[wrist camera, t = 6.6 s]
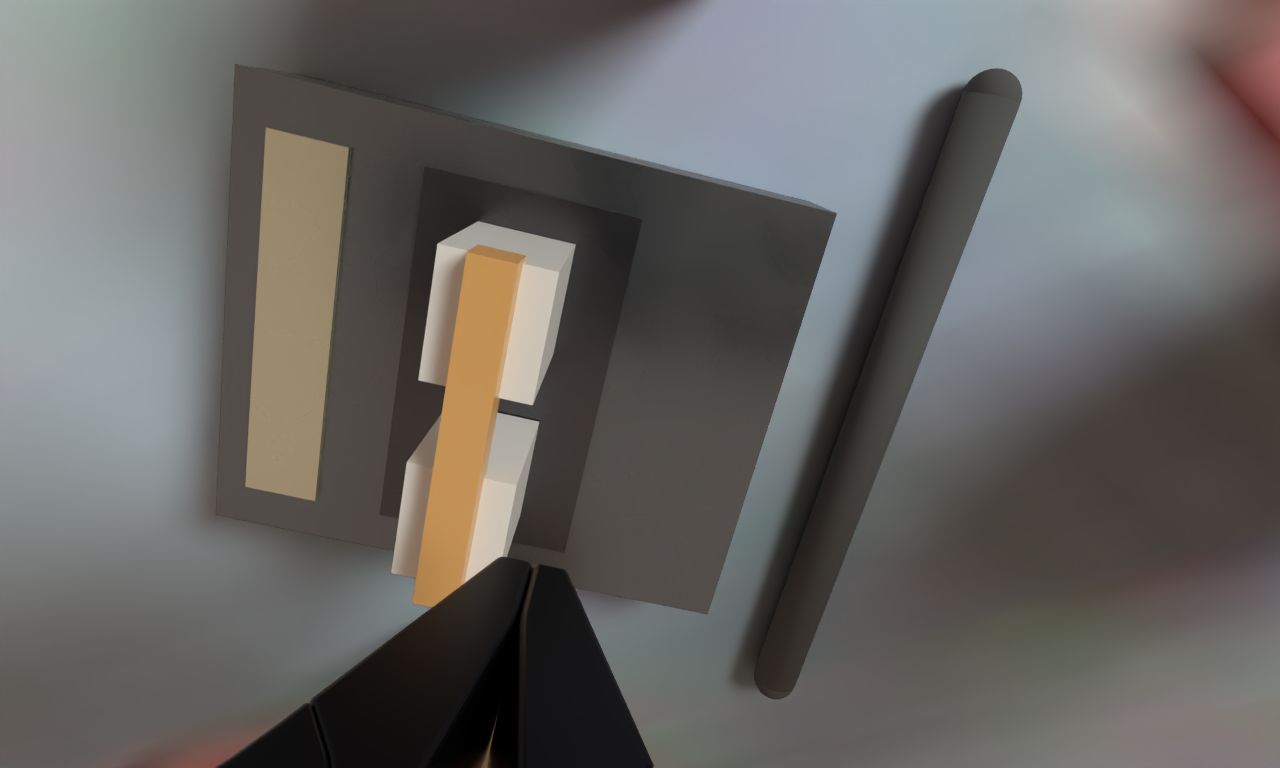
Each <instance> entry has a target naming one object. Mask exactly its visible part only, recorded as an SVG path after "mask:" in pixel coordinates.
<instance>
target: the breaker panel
mask: <svg viewBox="0 0 1280 768" xmlns="http://www.w3.org/2000/svg"><path fill="white" fill-rule="evenodd" d="M836 214H837V213H835V212H832V211H830V210H828V209H825V208H823V207H821V206H818V205H816V204H814V203H811V202H809V201H805V200H801V199H797V198H793V197H789V196H784V195H780V194H776V193H772V192H768V191H764V190H760V189H756V188H752V187H748V186H744V185H740V184H736V183H732V182H728V181H724V180H720V179H716V178H712V177H708V176H704V175H700V174H696V173H692V172H688V171H684V170H680V169H676V168H672V167H668V166H664V165H660V164H656V163H652V162H648V161H644V160H640V159H636V158H632V157H628V156H624V155H619V154H615V153H611V152H607V151H603V150H599V149H595V148H591V147H587V146H583V145H579V144H575V143H571V142H567V141H563V140H559V139H555V138H551V137H547V136H543V135H539V134H535V133H531V132H527V131H523V130H519V129H515V128H511V127H507V126H503V125H499V124H495V123H491V122H487V121H483V120H479V119H475V118H471V117H467V116H463V115H459V114H454V113H450V112H446V111H442V110H438V109H434V108H430V107H426V106H422V105H418V104H414V103H410V102H406V101H402V100H398V99H394V98H390V97H386V96H382V95H378V94H374V93H370V92H366V91H362V90H358V89H354V88H350V87H346V86H342V85H338V84H334V83H330V82H326V81H322V80H318V79H314V78H310V77H306V76H302V75H298V74H292V73H286V72H280V71H274V70H268V69H262V68H256V67H249V66H243V65H237V64H235V78H234V101H233V125H232V148H231V172H230V195H229V219H228V243H227V266H226V290H225V313H224V337H223V361H222V384H221V408H220V431H219V455H218V478H217V502H216V515H219V516H224V517H229V518H234V519H239V520H244V521H249V522H254V523H259V524H264V525H269V526H274V527H278V528H283V529H288V530H293V531H298V532H303V533H308V534H313V535H318V536H323V537H328V538H333V539H338V540H343V541H348V542H353V543H358V544H362V545H367V546H372V547H377V548H382V549H387V550H392V551H394V550H395V543H396V535H397V528H398V521H399V514H400V507H401V500H402V493H403V486H404V479H405V471H406V464H407V461H408V460H409V458H410V457H411V456H412V454H413V453H414V451H415V450H416V449H417V447H418V446H419V444H420V443H421V442H422V440H423V439H424V437H425V436H426V435H427V433H428V432H429V430H430V429H431V428H432V426H433V425H434V423H435V422H436V421H437V419H438V418H439V416H440V415H441V414H442V408H443V402H444V395H445V389H446V386H442V385H437V384H433V383H428V382H424V381H419V380H418V379H419V372H420V365H421V358H422V350H423V343H424V336H425V329H426V322H427V315H428V308H429V301H430V294H431V286H432V279H433V272H434V265H435V258H436V251H437V244H438V243H439V242H441V241H443V240H445V239H447V238H449V237H450V236H452V235H454V234H456V233H458V232H459V231H461V230H463V229H465V228H467V227H469V226H470V225H472V224H474V223H476V222H478V221H479V222H484V223H488V224H492V225H496V226H500V227H505V228H509V229H513V230H517V231H521V232H526V233H530V234H534V235H538V236H542V237H547V238H551V239H555V240H559V241H563V242H568V243H572V244H576V246H575V251H574V256H573V261H572V266H571V270H570V275H569V280H568V285H567V290H566V295H565V300H564V305H563V309H562V314H561V319H560V324H559V329H558V334H557V339H556V344H555V348H554V353H553V356H552V359H551V361H550V364H549V366H548V369H547V371H546V374H545V376H544V379H543V381H542V384H541V386H540V389H539V391H538V393H537V396H536V398H535V401H534V403H533V405H528V404H524V403H519V402H515V401H510V400H505V399H501V398H500V401H499V407H498V412H497V413H501V414H506V415H510V416H515V417H520V418H524V419H529V420H533V421H538V422H539V426H538V431H537V436H536V441H535V446H534V451H533V456H532V461H531V465H530V470H529V475H528V480H527V485H526V490H525V495H524V500H523V504H522V509H521V514H520V517H519V521H518V524H517V527H516V530H515V533H514V536H513V539H512V542H511V545H510V549H509V552H508V555H507V557H509V558H513V559H518V560H523V561H527V562H529V563H530V564H531V565H532V568H533V567H534V566H535V565H537V564H542V565H547V566H552V567H557V568H561V569H564V570H566V571H567V573H568V575H569V577H570V579H571V582H572V584H573V586H574V587H575V588H580V589H585V590H590V591H595V592H600V593H605V594H610V595H615V596H619V597H624V598H629V599H634V600H639V601H644V602H649V603H654V604H659V605H664V606H669V607H674V608H679V609H684V610H689V611H694V612H699V613H703V614H708V611H709V608H710V605H711V602H712V599H713V596H714V593H715V589H716V586H717V583H718V580H719V577H720V574H721V571H722V568H723V565H724V562H725V558H726V555H727V552H728V549H729V546H730V543H731V540H732V537H733V534H734V530H735V527H736V524H737V521H738V518H739V515H740V512H741V509H742V506H743V503H744V499H745V496H746V493H747V490H748V487H749V484H750V481H751V478H752V475H753V472H754V468H755V465H756V462H757V459H758V456H759V453H760V450H761V447H762V444H763V441H764V437H765V434H766V431H767V428H768V425H769V422H770V419H771V416H772V413H773V410H774V406H775V403H776V400H777V397H778V394H779V391H780V388H781V385H782V382H783V379H784V375H785V372H786V369H787V366H788V363H789V360H790V357H791V354H792V351H793V348H794V344H795V341H796V338H797V335H798V332H799V329H800V326H801V323H802V320H803V317H804V313H805V310H806V307H807V304H808V301H809V298H810V295H811V292H812V289H813V286H814V282H815V279H816V276H817V273H818V270H819V267H820V264H821V261H822V258H823V255H824V251H825V248H826V245H827V242H828V239H829V236H830V233H831V230H832V227H833V223H834V220H835V217H836Z"/></svg>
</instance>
